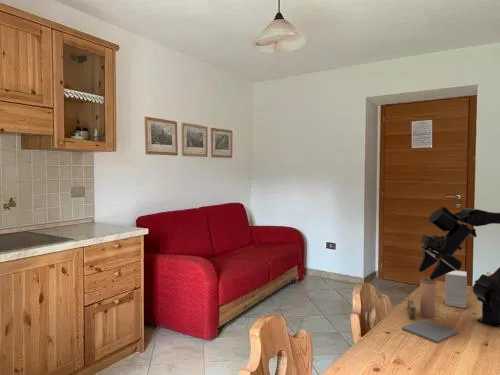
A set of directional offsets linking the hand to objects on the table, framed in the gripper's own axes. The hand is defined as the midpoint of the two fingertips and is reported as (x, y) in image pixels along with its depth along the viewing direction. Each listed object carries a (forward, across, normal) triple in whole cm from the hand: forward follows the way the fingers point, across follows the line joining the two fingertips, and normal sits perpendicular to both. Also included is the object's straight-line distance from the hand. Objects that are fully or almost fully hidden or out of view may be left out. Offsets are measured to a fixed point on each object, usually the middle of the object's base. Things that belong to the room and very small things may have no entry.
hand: (425, 274), depth 127 cm
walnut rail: (+14, -7, +8) cm, 18 cm away
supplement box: (+2, -18, +25) cm, 31 cm away
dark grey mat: (+14, +9, +8) cm, 18 cm away
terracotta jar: (+11, -6, +12) cm, 18 cm away
